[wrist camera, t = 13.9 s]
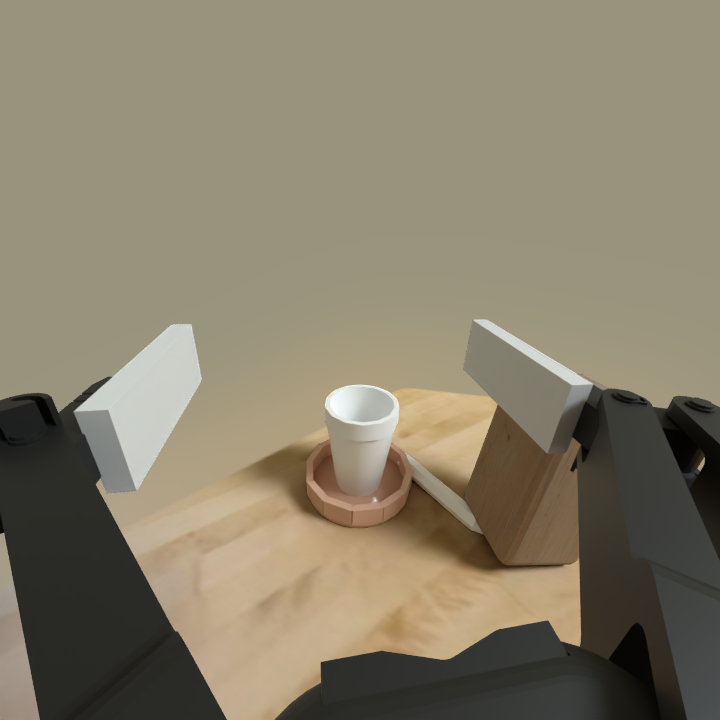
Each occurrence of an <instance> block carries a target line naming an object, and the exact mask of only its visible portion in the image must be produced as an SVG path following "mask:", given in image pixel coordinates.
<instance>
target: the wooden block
mask: <svg viewBox="0 0 720 720" xmlns="http://www.w3.org/2000/svg"><path fill="white" fill-rule="evenodd" d="M577 375H579V376H581V377H582V378H584V379H586V380H587V381H589V382H591V383H592V384H593V385H595V386H596V387H598V388H600V389H601V390H605V389H609V388H607V387H606V386H604V385H602V384H600V383H598V382H596V381H594V380H592V379H590V378H588V377H586V376H584V375H582V374H577ZM580 445H581V444H580V443H578V442H577V441H576V440H575V439H574V438H573V437H572V440H571V442H570V445H569V447H568V450H567V452H563V453H551V454H547V453H546V452H545V451H544V450H543V449H542V448H541V447H540V446H539V445H538V444H537V443H536V442H535V441H534V440H533V439H532V438H531V437H530V436H529V435H528V434H527V433H526V432H525V431H524V430H523V429H522V428H521V427H520V426H519V425H518V424H517V423H516V422H515V421H514V420H513V419H512V418H511V417H510V416H509V415H508V414H507V413H506V412H505V411H504V410H503V409H502V408H501V407H500V406H499V405H498V406H497V408H496V411H495V414H494V416H493V419H492V422H491V425H490V427H489V430H488V433H487V435H486V438H485V441H484V443H483V446H482V449H481V451H480V454H479V457H478V459H477V462H476V465H475V468H474V470H473V473H472V476H471V478H470V481H469V484H468V486H467V489H466V492H465V494H464V495H465V502H466V503H467V505H468V507H469V508H470V510H471V512H472V514H473V515H474V517H475V520H476V522H477V524H478V525H479V527H480V529H481V530H482V532H483V534H484V536H485V537H486V539H487V541H488V543H489V544H490V546H491V548H492V549H493V551H494V553H495V555H496V556H497V558H498V560H500V561H501V562H502V563H503V564H505V565H564V564H572V563H574V562H576V561H577V560H578V559H579V522H578V480H577V469H575V470H574V472H572V471H570V469H571V467H572V465H573V462H574V460H575V457H576V455H577V453H578V450H579V448H580Z"/></svg>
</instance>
